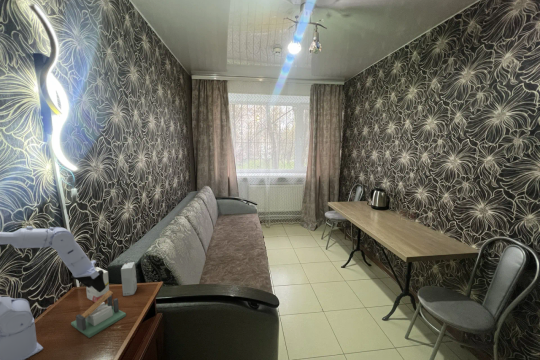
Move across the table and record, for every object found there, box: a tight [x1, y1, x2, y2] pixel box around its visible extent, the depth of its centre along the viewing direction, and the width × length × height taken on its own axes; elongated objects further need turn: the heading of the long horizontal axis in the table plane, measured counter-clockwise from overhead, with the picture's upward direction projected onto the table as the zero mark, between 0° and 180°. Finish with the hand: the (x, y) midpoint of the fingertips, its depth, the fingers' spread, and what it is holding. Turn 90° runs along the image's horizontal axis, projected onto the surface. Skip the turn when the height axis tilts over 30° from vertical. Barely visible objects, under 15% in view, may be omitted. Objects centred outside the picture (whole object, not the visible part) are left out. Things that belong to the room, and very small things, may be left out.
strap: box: [81, 290, 113, 318], centre depth 84 cm, size 10×2×1 cm, turn 152°
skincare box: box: [120, 261, 138, 297], centre depth 102 cm, size 6×4×12 cm
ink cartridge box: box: [85, 266, 110, 303], centre depth 97 cm, size 9×5×15 cm, turn 62°
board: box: [70, 294, 127, 339], centre depth 84 cm, size 12×12×6 cm
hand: (96, 287), depth 84 cm, fingers open, 7 cm apart
